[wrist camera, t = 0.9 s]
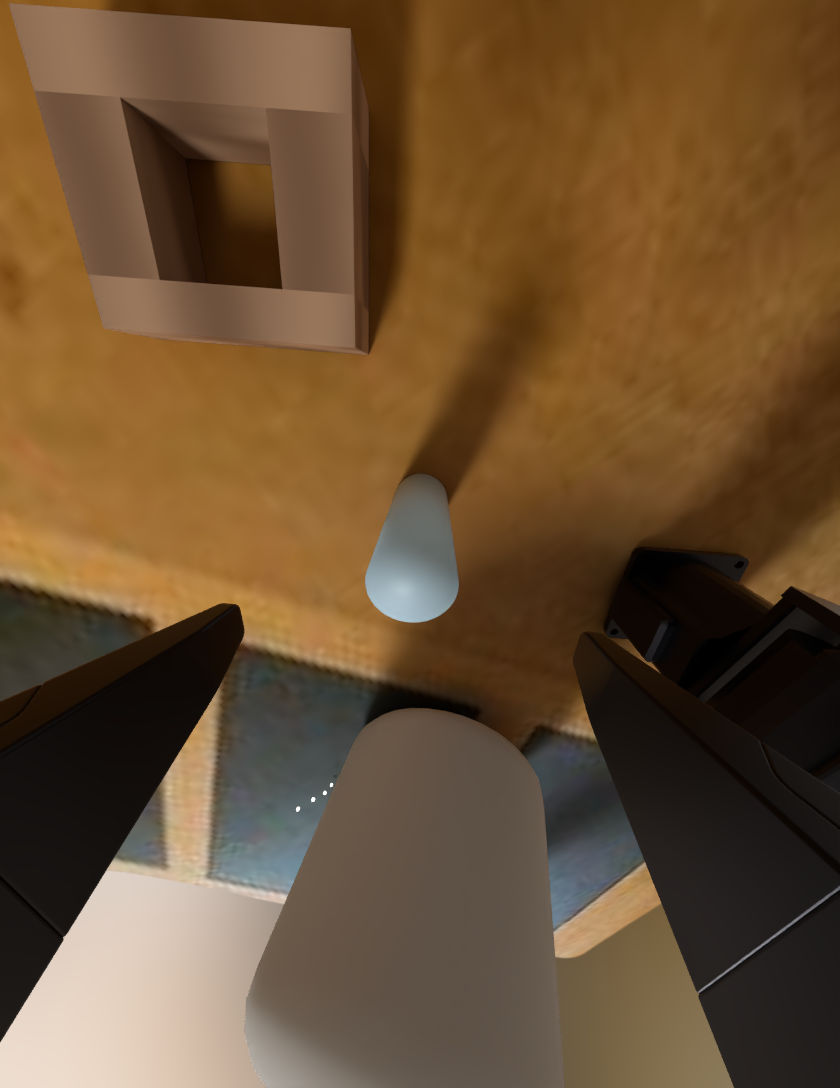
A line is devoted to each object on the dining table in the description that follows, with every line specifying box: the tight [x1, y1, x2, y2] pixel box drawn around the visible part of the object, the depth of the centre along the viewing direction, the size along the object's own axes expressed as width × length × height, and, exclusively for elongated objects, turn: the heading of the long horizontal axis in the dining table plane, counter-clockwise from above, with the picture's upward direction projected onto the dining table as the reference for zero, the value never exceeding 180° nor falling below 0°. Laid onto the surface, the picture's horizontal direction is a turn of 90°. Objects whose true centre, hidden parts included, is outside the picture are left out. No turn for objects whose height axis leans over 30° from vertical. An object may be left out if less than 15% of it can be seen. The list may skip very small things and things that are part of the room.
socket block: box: [9, 3, 369, 355], centre depth 13 cm, size 10×8×3 cm
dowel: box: [365, 474, 459, 622], centre depth 15 cm, size 3×3×9 cm
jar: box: [244, 708, 565, 1088], centre depth 17 cm, size 19×15×25 cm
